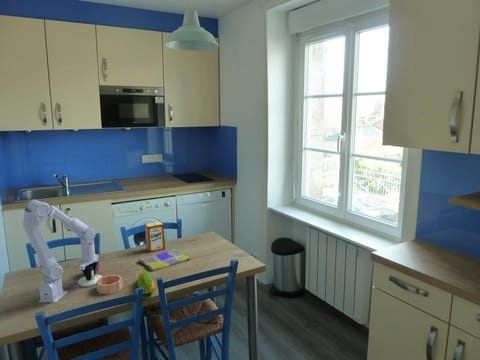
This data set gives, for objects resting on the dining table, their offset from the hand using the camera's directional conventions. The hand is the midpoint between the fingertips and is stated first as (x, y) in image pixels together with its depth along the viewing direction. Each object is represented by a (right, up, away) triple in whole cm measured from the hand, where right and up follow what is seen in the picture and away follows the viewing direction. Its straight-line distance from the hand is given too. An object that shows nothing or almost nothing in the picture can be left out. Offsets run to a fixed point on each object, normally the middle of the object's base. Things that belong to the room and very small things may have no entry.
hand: (90, 277), depth 173 cm
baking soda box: (+21, +5, +42) cm, 48 cm away
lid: (0, -2, 0) cm, 2 cm away
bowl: (+12, -3, -6) cm, 14 cm away
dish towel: (+30, +2, +25) cm, 39 cm away
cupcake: (-6, +4, +11) cm, 14 cm away
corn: (+28, -3, -6) cm, 28 cm away
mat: (0, -2, 0) cm, 2 cm away
